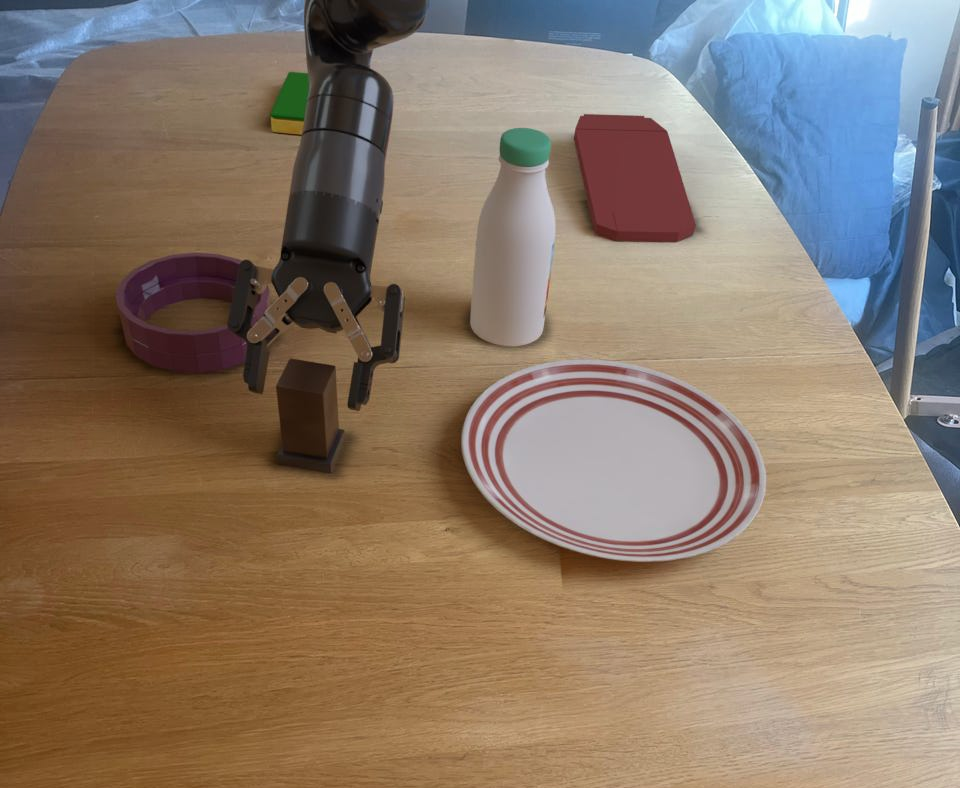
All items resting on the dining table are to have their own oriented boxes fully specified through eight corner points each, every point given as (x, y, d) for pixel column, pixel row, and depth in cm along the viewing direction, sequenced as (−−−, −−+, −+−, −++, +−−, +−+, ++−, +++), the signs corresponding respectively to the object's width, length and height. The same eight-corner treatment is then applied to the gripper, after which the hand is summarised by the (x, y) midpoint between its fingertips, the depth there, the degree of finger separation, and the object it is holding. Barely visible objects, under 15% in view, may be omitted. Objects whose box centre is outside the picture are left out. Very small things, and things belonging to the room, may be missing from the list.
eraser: (278, 472, 88) (269, 387, 81) (294, 438, 91) (286, 354, 84) (331, 480, 88) (326, 397, 81) (345, 446, 91) (341, 363, 84)
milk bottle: (537, 358, 102) (563, 162, 86) (463, 346, 102) (476, 149, 87) (547, 317, 107) (573, 125, 91) (476, 306, 107) (491, 112, 92)
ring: (111, 375, 95) (100, 329, 91) (143, 293, 104) (134, 248, 101) (263, 383, 96) (258, 338, 92) (281, 301, 105) (277, 257, 101)
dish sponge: (341, 94, 139) (340, 75, 137) (325, 138, 130) (324, 118, 128) (290, 89, 139) (288, 70, 137) (271, 133, 130) (269, 113, 128)
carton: (687, 267, 122) (651, 143, 135) (698, 232, 118) (660, 108, 131) (591, 265, 121) (564, 141, 133) (598, 231, 117) (570, 105, 129)
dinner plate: (704, 377, 102) (712, 349, 99) (803, 572, 85) (816, 544, 82) (438, 390, 97) (440, 361, 95) (487, 597, 80) (491, 569, 78)
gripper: (237, 174, 79) (207, 379, 80) (412, 201, 78) (379, 408, 80) (264, 207, 86) (236, 394, 88) (424, 233, 86) (394, 421, 87)
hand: (304, 400), depth 84 cm, fingers open, 8 cm apart
